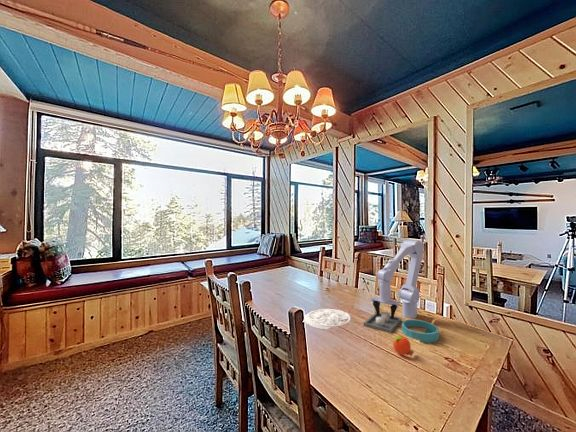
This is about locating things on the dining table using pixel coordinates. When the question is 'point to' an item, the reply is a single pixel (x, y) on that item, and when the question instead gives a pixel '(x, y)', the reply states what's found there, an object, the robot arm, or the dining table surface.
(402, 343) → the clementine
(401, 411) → the dining table surface
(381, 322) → the stone
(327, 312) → the ceiling medallion
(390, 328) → the tray
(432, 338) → the bowl
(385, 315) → the stone
